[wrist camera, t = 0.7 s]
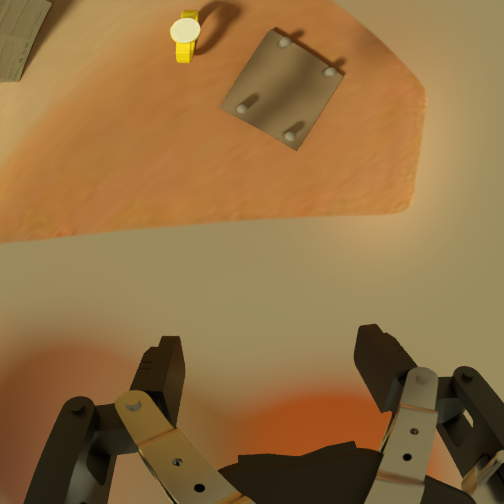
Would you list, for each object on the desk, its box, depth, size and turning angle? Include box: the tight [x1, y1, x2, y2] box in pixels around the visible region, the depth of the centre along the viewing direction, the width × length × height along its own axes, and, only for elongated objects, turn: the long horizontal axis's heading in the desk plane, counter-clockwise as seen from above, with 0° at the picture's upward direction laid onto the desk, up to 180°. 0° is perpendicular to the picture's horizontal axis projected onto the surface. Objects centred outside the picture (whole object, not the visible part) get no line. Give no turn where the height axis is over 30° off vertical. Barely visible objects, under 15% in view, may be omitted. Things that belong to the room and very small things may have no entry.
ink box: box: [0, 0, 52, 83], centre depth 15 cm, size 12×2×12 cm, turn 154°
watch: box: [170, 10, 201, 63], centre depth 23 cm, size 6×3×6 cm, turn 173°
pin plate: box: [220, 30, 343, 151], centre depth 28 cm, size 10×11×3 cm
